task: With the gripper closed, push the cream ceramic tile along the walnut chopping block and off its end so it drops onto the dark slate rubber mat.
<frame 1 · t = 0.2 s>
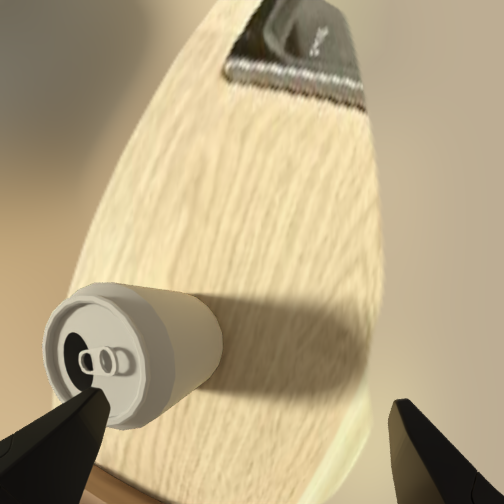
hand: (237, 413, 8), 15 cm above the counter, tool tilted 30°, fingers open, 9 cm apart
can: (179, 340, 24), on the counter
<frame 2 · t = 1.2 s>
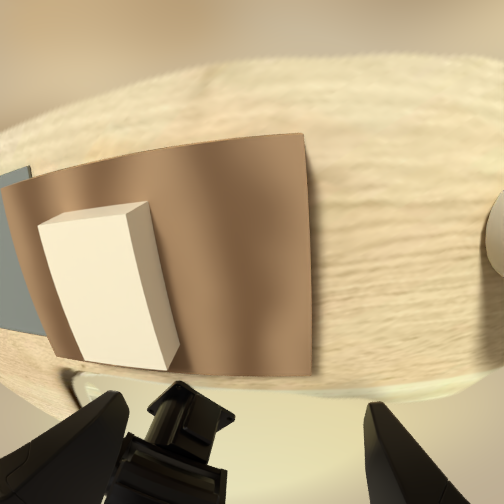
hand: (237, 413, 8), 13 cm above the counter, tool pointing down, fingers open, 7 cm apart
tile: (109, 290, 17), point 5 cm above the counter, touching block
mat: (0, 261, 24), on the counter
block: (158, 254, 22), on the counter
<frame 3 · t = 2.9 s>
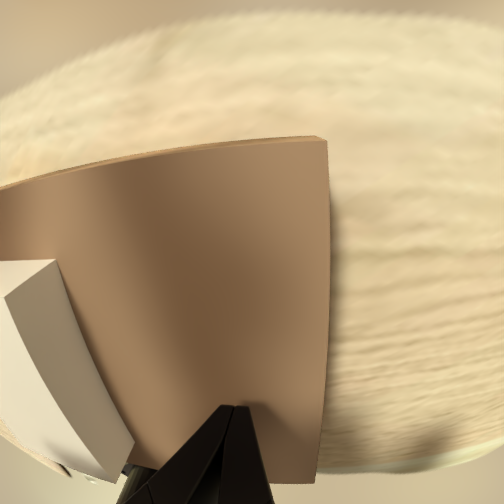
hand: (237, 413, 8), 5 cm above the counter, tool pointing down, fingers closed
tile: (28, 378, 10), point 5 cm above the counter, touching block
block: (103, 313, 14), on the counter
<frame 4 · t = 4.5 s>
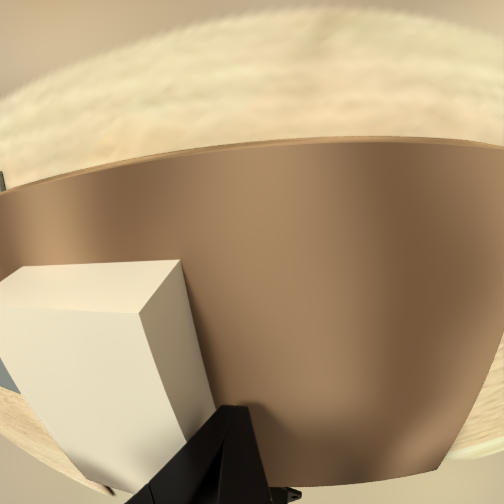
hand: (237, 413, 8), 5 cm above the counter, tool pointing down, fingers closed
tile: (114, 406, 9), point 5 cm above the counter, touching gripper
block: (221, 321, 13), on the counter
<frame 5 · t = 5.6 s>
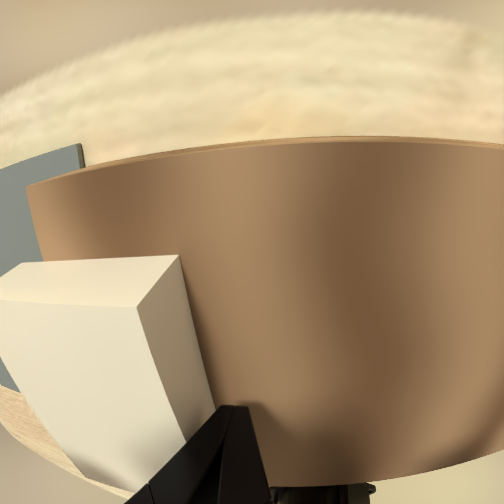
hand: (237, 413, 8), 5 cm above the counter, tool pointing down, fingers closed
tile: (112, 403, 9), point 5 cm above the counter, touching block, gripper
mat: (17, 308, 15), on the counter
block: (357, 316, 12), on the counter
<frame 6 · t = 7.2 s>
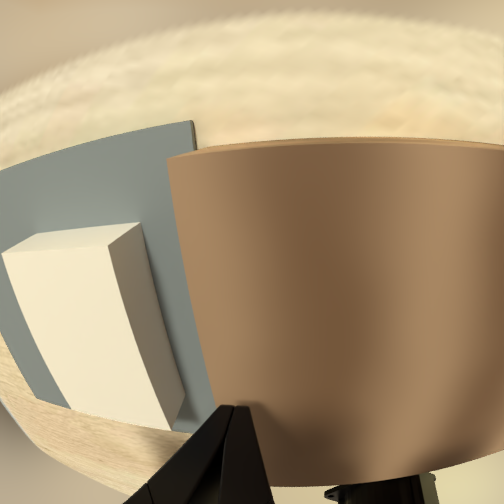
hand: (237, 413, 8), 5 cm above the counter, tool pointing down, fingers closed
tile: (94, 334, 13), point 2 cm above the counter, tilted 180°, touching mat
mat: (73, 314, 15), on the counter
block: (460, 307, 12), on the counter
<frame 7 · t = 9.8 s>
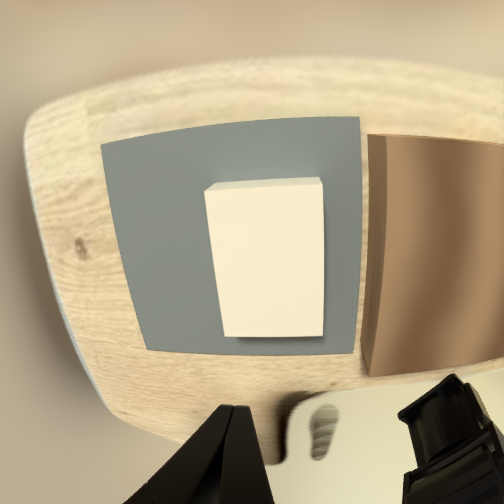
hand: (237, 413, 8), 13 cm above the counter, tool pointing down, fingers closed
tile: (270, 260, 19), point 2 cm above the counter, tilted 180°, touching mat
mat: (232, 252, 21), on the counter
block: (495, 244, 18), on the counter
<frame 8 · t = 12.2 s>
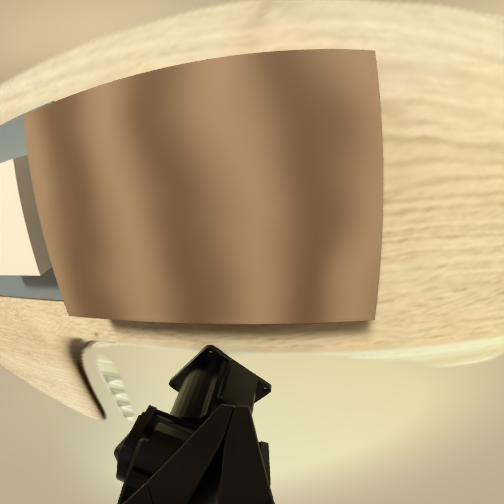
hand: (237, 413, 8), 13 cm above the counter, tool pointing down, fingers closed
tile: (12, 217, 20), point 2 cm above the counter, tilted 180°, touching mat
mat: (8, 215, 22), on the counter
block: (200, 189, 19), on the counter
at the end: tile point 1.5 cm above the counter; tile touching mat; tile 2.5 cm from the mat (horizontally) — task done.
